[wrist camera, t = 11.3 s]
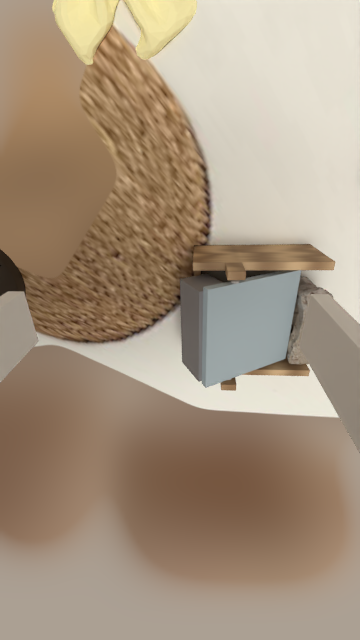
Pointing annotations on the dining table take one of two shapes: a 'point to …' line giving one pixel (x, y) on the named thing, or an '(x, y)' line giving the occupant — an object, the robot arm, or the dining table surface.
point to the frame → (260, 258)
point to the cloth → (97, 18)
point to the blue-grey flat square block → (236, 323)
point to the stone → (300, 319)
